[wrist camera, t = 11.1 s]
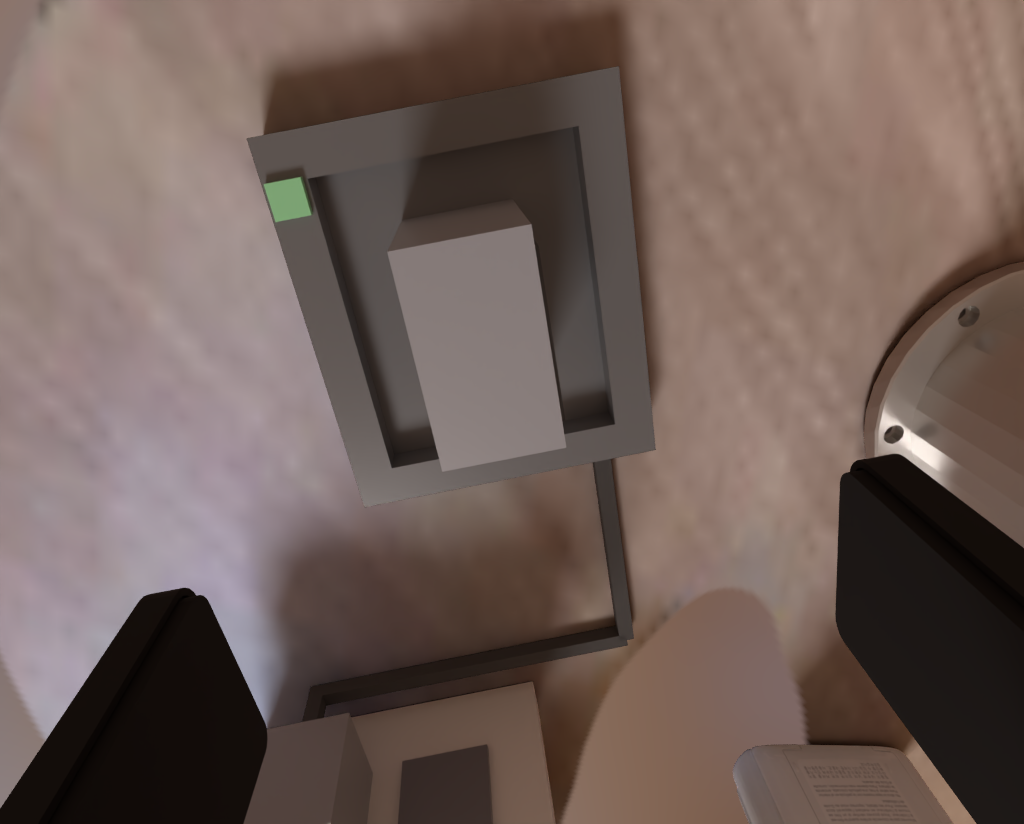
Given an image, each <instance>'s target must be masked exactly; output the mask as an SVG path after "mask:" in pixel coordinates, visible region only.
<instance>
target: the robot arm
mask: <svg viewBox="0 0 1024 824" xmlns="http://www.w3.org/2000/svg"><path fill="white" fill-rule="evenodd" d="M864 444H865V453H866V459H862V460H857V461H856V462H854V463H853V464H852V466H851V469H850V472H848V473H845V474H843V475H842V477H841V481H840V501H839V530H838V559H837V588H836V623H837V627H838V630H839V633H840V635H841V637H842V639H843V641H844V643H845V644H846V645H847V647H848V648H849V650H850V651H851V652H852V654H853V655H854V656H855V658H856V659H857V661H858V662H859V663H860V665H861V666H862V667H863V669H864V670H865V671H866V673H867V674H868V676H869V677H870V678H871V680H872V681H873V682H874V684H875V685H876V687H877V688H878V689H879V691H880V692H881V693H882V695H883V696H884V697H885V699H886V700H887V702H888V703H889V704H890V706H891V707H892V708H893V710H894V711H895V712H896V714H897V715H898V717H899V718H900V719H901V721H902V722H903V723H904V725H905V726H906V728H907V729H908V730H909V732H910V733H911V734H912V736H913V737H914V738H915V740H916V741H917V743H918V744H919V745H920V747H921V748H922V749H923V751H924V752H925V754H926V755H927V756H928V758H929V759H930V760H931V762H932V763H933V764H934V766H935V767H936V769H937V770H938V771H939V773H940V774H941V775H942V777H943V778H944V780H945V781H946V782H947V784H948V785H949V786H950V788H951V789H952V790H953V792H954V793H955V795H956V796H957V797H958V799H959V800H960V801H961V803H962V804H963V806H964V807H965V808H966V810H967V811H968V812H969V814H970V815H971V816H972V818H973V819H974V821H975V822H976V823H977V824H1024V262H1019V263H1014V264H1009V265H1007V266H1004V267H1001V268H999V269H996V270H993V271H991V272H988V273H986V274H983V275H980V276H979V277H977V278H975V279H973V280H972V281H970V282H968V283H966V284H964V285H963V286H961V287H959V288H957V289H956V290H954V291H952V292H951V293H950V294H948V295H947V296H946V297H945V298H943V299H942V300H941V301H939V302H938V303H937V304H936V305H934V306H933V307H932V308H930V309H929V310H928V311H927V312H926V313H925V314H924V315H923V316H922V317H921V318H920V319H919V320H918V321H917V322H916V323H915V324H914V325H913V326H912V327H911V328H910V329H909V330H908V331H907V332H906V333H905V335H904V336H903V337H902V339H901V340H900V342H899V343H898V344H897V346H896V347H895V349H894V350H893V351H892V353H891V354H890V356H889V357H888V358H887V360H886V362H885V364H884V366H883V368H882V370H881V372H880V374H879V376H878V378H877V380H876V382H875V384H874V386H873V390H872V393H871V396H870V400H869V403H868V406H867V409H866V416H865V426H864ZM267 740H268V738H267V728H266V725H265V722H264V720H263V717H262V715H261V713H260V711H259V709H258V707H257V705H256V702H255V700H254V698H253V696H252V694H251V692H250V689H249V687H248V685H247V683H246V681H245V679H244V677H243V674H242V672H241V670H240V668H239V666H238V664H237V662H236V659H235V657H234V655H233V653H232V651H231V649H230V647H229V644H228V642H227V640H226V638H225V636H224V634H223V631H222V629H221V627H220V625H219V623H218V621H217V619H216V616H215V614H214V612H213V610H212V608H211V606H210V604H209V602H208V600H207V599H206V598H205V597H204V596H202V595H198V596H196V595H195V593H194V592H193V591H192V590H191V589H189V588H180V589H175V590H170V591H165V592H159V593H154V594H149V595H146V596H144V597H143V598H142V599H141V600H140V601H139V602H138V604H137V605H136V607H135V608H134V610H133V611H132V613H131V614H130V616H129V617H128V619H127V620H126V622H125V623H124V624H123V626H122V627H121V629H120V630H119V632H118V633H117V635H116V636H115V638H114V639H113V641H112V642H111V644H110V645H109V647H108V648H107V650H106V651H105V653H104V654H103V656H102V657H101V659H100V660H99V662H98V663H97V665H96V666H95V668H94V669H93V671H92V672H91V674H90V675H89V677H88V678H87V680H86V681H85V683H84V684H83V686H82V687H81V689H80V690H79V692H78V693H77V695H76V696H75V698H74V699H73V701H72V702H71V704H70V705H69V707H68V708H67V710H66V711H65V713H64V714H63V716H62V717H61V719H60V720H59V722H58V723H57V725H56V726H55V728H54V729H53V731H52V732H51V734H50V735H49V737H48V738H47V740H46V741H45V743H44V744H43V746H42V747H41V749H40V750H39V752H38V753H37V755H36V756H35V758H34V759H33V761H32V762H31V764H30V765H29V767H28V768H27V770H26V771H25V773H24V774H23V776H22V777H21V779H20V780H19V782H18V783H17V785H16V786H15V788H14V789H13V791H12V792H11V794H10V795H9V797H8V798H7V800H6V801H5V802H4V804H3V805H2V807H1V808H0V824H244V821H245V817H246V814H247V811H248V808H249V804H250V801H251V798H252V795H253V792H254V788H255V785H256V782H257V779H258V775H259V772H260V769H261V766H262V762H263V759H264V756H265V753H266V748H267Z"/></svg>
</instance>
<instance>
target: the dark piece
mask: <svg viewBox="0 0 1024 824" xmlns="http://www.w3.org/2000/svg"><path fill="white" fill-rule="evenodd" d="M593 469H594V476H595V483H596V490H597V497H598V504H599V511H600V518H601V525H602V532H603V539H604V546H605V553H606V560H607V567H608V574H609V581H610V588H611V595H612V602H613V609H614V616H615V623H616V626H614V627H609V628H604V629H599V630H594V631H589V632H584V633H579V634H574V635H569V636H564V637H559V638H553V639H548V640H543V641H538V642H533V643H528V644H523V645H518V646H513V647H508V648H503V649H498V650H493V651H488V652H483V653H478V654H473V655H468V656H463V657H458V658H453V659H448V660H443V661H438V662H433V663H428V664H423V665H418V666H413V667H408V668H403V669H398V670H393V671H388V672H383V673H378V674H373V675H368V676H363V677H358V678H353V679H348V680H343V681H337V682H332V683H327V684H322V685H317V686H312V687H311V688H310V692H309V696H308V700H307V704H306V708H305V712H304V717H303V721H302V722H305V721H310V720H316V719H321V718H324V714H325V709H326V705H331V704H336V703H341V702H346V701H351V700H356V699H361V698H366V697H371V696H376V695H381V694H386V693H391V692H396V691H401V690H406V689H411V688H416V687H421V686H426V685H431V684H436V683H441V682H446V681H451V680H456V679H461V678H466V677H471V676H476V675H481V674H486V673H491V672H497V671H502V670H507V669H512V668H517V667H522V666H527V665H532V664H537V663H542V662H547V661H552V660H557V659H562V658H567V657H572V656H577V655H582V654H587V653H592V652H597V651H602V650H607V649H612V648H617V647H622V646H627V645H628V644H627V640H630V639H634V635H633V628H632V620H631V612H630V604H629V597H628V589H627V581H626V574H625V566H624V558H623V550H622V543H621V535H620V527H619V519H618V512H617V504H616V496H615V488H614V481H613V473H612V465H611V459H607V460H602V461H597V462H593Z"/></svg>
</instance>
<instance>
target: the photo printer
mask: <svg viewBox="0 0 1024 824" xmlns="http://www.w3.org/2000/svg"><path fill="white" fill-rule="evenodd" d="M733 777H734V780H735V783H736V785H737V787H738V788H737V793H738V796H739V799H740V802H741V804H742V807H743V809H744V812H745V815H746V817H747V820H748V822H749V824H954V823H953V822H952V821H951V819H950V818H949V816H948V815H947V813H946V812H945V811H944V809H943V808H942V806H941V805H940V803H939V802H938V801H937V799H936V798H935V796H934V795H933V793H932V792H931V790H930V789H929V787H928V786H927V785H926V783H925V781H924V780H923V779H922V777H921V776H920V775H919V773H918V772H917V770H916V769H915V767H914V766H913V764H912V763H911V762H910V760H909V759H908V758H907V757H906V755H905V754H904V753H903V752H902V751H900V750H898V749H895V748H889V747H881V746H845V745H765V746H757V747H753V748H752V749H749V750H746V751H745V752H744V753H743V754H742V755H741V756H740V757H739V758H738V760H737V761H736V763H735V765H734V769H733Z"/></svg>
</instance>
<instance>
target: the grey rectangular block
mask: <svg viewBox="0 0 1024 824" xmlns="http://www.w3.org/2000/svg"><path fill="white" fill-rule="evenodd" d="M387 253H388V257H389V261H390V265H391V269H392V273H393V277H394V281H395V285H396V289H397V293H398V297H399V301H400V305H401V309H402V313H403V317H404V321H405V325H406V329H407V333H408V337H409V341H410V345H411V349H412V353H413V357H414V361H415V365H416V369H417V373H418V377H419V381H420V385H421V389H422V393H423V397H424V401H425V405H426V409H427V413H428V417H429V421H430V425H431V429H432V433H433V437H434V441H435V445H436V449H437V453H438V457H439V461H440V465H441V469H442V472H444V471H449V470H454V469H459V468H465V467H470V466H475V465H480V464H485V463H490V462H495V461H501V460H506V459H511V458H516V457H521V456H526V455H531V454H537V453H542V452H547V451H552V450H557V449H562V448H566V442H565V436H564V429H563V423H562V421H566V420H565V414H564V407H563V401H562V395H561V388H560V382H559V375H558V369H557V362H556V356H555V349H554V343H553V336H552V330H551V323H550V317H549V310H548V304H547V297H546V291H545V284H544V278H543V271H542V265H541V258H540V252H539V245H538V244H537V242H536V241H535V240H534V238H533V231H532V225H531V223H530V222H529V220H528V219H527V218H526V216H525V215H524V214H523V212H522V211H521V210H520V208H519V207H518V206H517V204H516V203H515V202H514V200H513V199H510V200H505V201H500V202H494V203H489V204H484V205H479V206H473V207H468V208H463V209H458V210H453V211H447V212H442V213H437V214H432V215H427V216H421V217H416V218H411V219H406V220H402V221H401V223H400V225H399V227H398V230H397V232H396V234H395V236H394V238H393V240H392V243H391V245H390V247H389V249H388V251H387Z"/></svg>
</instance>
